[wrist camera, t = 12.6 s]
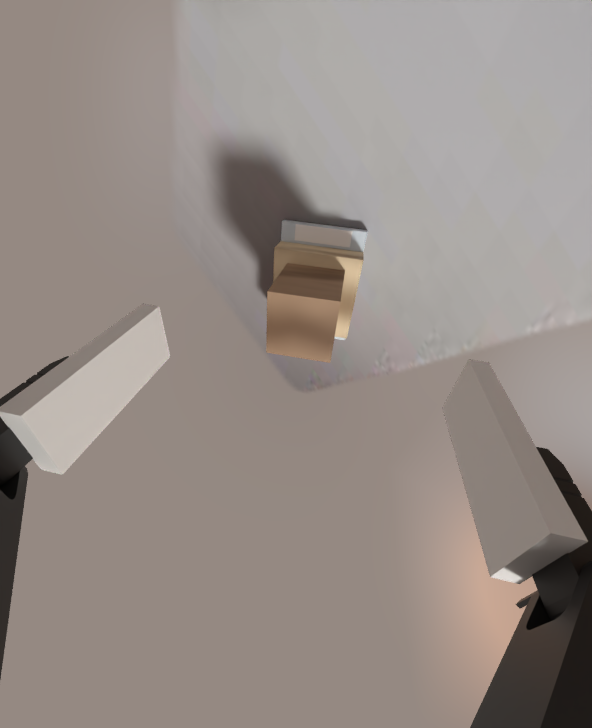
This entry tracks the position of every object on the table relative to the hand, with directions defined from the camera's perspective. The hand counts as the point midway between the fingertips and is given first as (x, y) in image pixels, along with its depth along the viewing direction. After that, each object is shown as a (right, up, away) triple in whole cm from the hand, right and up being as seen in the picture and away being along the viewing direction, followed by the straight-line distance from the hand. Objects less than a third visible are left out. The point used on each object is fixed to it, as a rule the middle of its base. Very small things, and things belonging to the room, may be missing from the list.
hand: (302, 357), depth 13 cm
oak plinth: (+2, +9, +22) cm, 23 cm away
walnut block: (+1, +7, +19) cm, 21 cm away
